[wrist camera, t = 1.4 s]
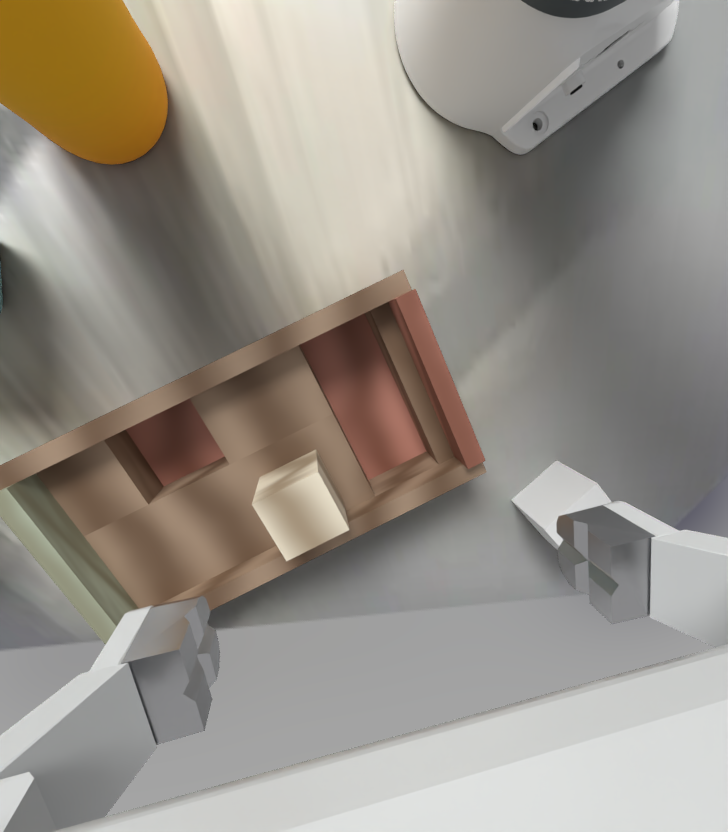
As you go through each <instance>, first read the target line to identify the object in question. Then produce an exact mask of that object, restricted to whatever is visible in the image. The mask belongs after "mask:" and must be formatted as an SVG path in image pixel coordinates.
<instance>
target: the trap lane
mask: <svg viewBox="0 0 728 832" xmlns="http://www.w3.org/2000/svg"><path fill="white" fill-rule="evenodd" d="M314 450H317V452H318V454H319V456H320V458H321V460H322V461H323V463H324V465H325V467H326V469H327V471H328V473H329V474H330V476H331V478H332V480H333V482H334V484H335V486H336V488H337V489H338V491H339V493H340V495H341V497H342V499H343V502H344V506H345V511H346V516H347V520H348V525H349V530H348V531H346V532H344V533H342V534H340V535H338V536H336V537H334V538H332V539H330V540H328V541H326V542H324V543H322V544H320V545H318V546H316V547H314V548H312V549H310V550H308V551H306V552H304V553H302V554H300V555H298V556H296V557H294V558H292V559H290V560H288V561H286V560H285V558H284V557H283V555H282V553H281V552H280V550H279V548H278V547H277V545H276V543H275V542H274V540H273V539H272V537H271V535H270V534H269V532H268V530H267V529H266V527H265V525H264V524H263V522H262V520H261V519H260V517H259V516H258V514H257V512H256V511H255V509H254V507H253V506H252V502H253V499H254V495H255V492H256V488H257V485H258V481H259V478H260V477H261V476H263V475H265V474H267V473H269V472H271V471H273V470H275V469H277V468H279V467H281V466H283V465H285V464H287V463H289V462H291V461H293V460H295V459H297V458H299V457H301V456H303V455H306V454H308V453H310V452H312V451H314ZM484 461H485V458H484V456H483V453H482V451H481V448H480V446H479V444H478V441H477V439H476V436H475V434H474V431H473V429H472V426H471V424H470V422H469V419H468V417H467V414H466V412H465V409H464V407H463V404H462V402H461V399H460V397H459V395H458V392H457V390H456V387H455V385H454V382H453V380H452V377H451V375H450V372H449V370H448V368H447V365H446V363H445V360H444V358H443V355H442V353H441V350H440V348H439V345H438V343H437V341H436V338H435V336H434V333H433V331H432V328H431V326H430V323H429V321H428V318H427V316H426V314H425V311H424V309H423V306H422V304H421V301H420V299H419V296H418V294H417V292H416V289H414V290H412V289H411V287H410V284H409V282H408V280H407V277H406V275H405V272H404V270H402V271H400V272H398V273H396V274H394V275H392V276H390V277H388V278H385V279H383V280H381V281H379V282H377V283H375V284H373V285H371V286H369V287H367V288H365V289H363V290H361V291H359V292H357V293H355V294H353V295H350V296H348V297H346V298H344V299H342V300H340V301H338V302H336V303H334V304H332V305H330V306H328V307H326V308H324V309H322V310H320V311H317V312H315V313H313V314H311V315H309V316H307V317H305V318H303V319H301V320H299V321H297V322H295V323H293V324H291V325H289V326H287V327H284V328H282V329H280V330H278V331H276V332H274V333H272V334H270V335H268V336H266V337H264V338H262V339H260V340H258V341H256V342H254V343H252V344H249V345H247V346H245V347H243V348H241V349H239V350H237V351H235V352H233V353H231V354H229V355H227V356H225V357H223V358H221V359H219V360H216V361H214V362H212V363H210V364H208V365H206V366H204V367H202V368H200V369H198V370H196V371H194V372H192V373H190V374H188V375H186V376H183V377H181V378H179V379H177V380H175V381H173V382H171V383H169V384H167V385H165V386H163V387H161V388H159V389H157V390H155V391H153V392H150V393H148V394H146V395H144V396H142V397H140V398H138V399H136V400H134V401H132V402H130V403H128V404H126V405H124V406H122V407H120V408H118V409H115V410H113V411H111V412H109V413H107V414H105V415H103V416H101V417H99V418H97V419H95V420H93V421H91V422H89V423H87V424H85V425H82V426H80V427H78V428H76V429H74V430H72V431H70V432H68V433H66V434H64V435H62V436H60V437H58V438H56V439H54V440H52V441H49V442H47V443H45V444H43V445H41V446H39V447H37V448H35V449H33V450H31V451H29V452H27V453H25V454H23V455H21V456H19V457H17V458H14V459H12V460H10V461H8V462H6V463H4V464H2V465H0V517H1V518H2V519H3V520H4V522H5V523H6V524H7V525H8V526H9V528H10V529H11V530H12V531H13V533H14V534H15V535H16V536H17V537H18V539H19V540H20V541H21V542H22V544H23V545H24V546H25V547H26V548H27V550H28V551H29V552H30V553H31V554H32V556H33V557H34V558H35V559H36V561H37V562H38V563H39V564H40V565H41V567H42V568H43V569H44V570H45V572H46V573H47V574H48V575H49V576H50V578H51V579H52V580H53V581H54V583H55V584H56V585H57V586H58V587H59V589H60V590H61V591H62V592H63V594H64V595H65V596H66V597H67V598H68V600H69V601H70V602H71V603H72V604H73V606H74V607H75V608H76V609H77V611H78V612H79V613H80V614H81V615H82V617H83V618H84V619H85V620H86V622H87V623H88V624H89V625H90V626H91V628H92V629H93V630H94V631H95V633H96V634H97V635H98V636H99V637H100V639H101V640H102V641H103V642H104V644H105V645H106V643H107V642H108V640H109V638H110V637H111V635H112V634H113V632H114V630H115V629H116V627H117V625H118V624H119V622H120V621H121V619H122V617H123V616H124V614H125V613H127V612H129V611H131V610H135V609H139V608H144V607H148V606H155V605H158V604H163V603H168V602H173V601H178V600H182V599H187V598H192V597H197V596H204V597H205V598H206V599H207V603H208V606H209V609H210V611H211V610H213V609H215V608H217V607H219V606H221V605H223V604H225V603H227V602H229V601H231V600H233V599H235V598H237V597H238V596H240V595H242V594H244V593H246V592H248V591H250V590H252V589H254V588H256V587H258V586H260V585H262V584H264V583H266V582H268V581H270V580H272V579H274V578H276V577H278V576H280V575H282V574H284V573H286V572H288V571H290V570H292V569H294V568H296V567H298V566H300V565H302V564H304V563H306V562H308V561H310V560H312V559H314V558H316V557H318V556H320V555H322V554H324V553H326V552H328V551H330V550H332V549H334V548H336V547H338V546H340V545H342V544H344V543H346V542H348V541H350V540H352V539H354V538H356V537H358V536H360V535H362V534H364V533H366V532H368V531H370V530H372V529H374V528H376V527H378V526H380V525H382V524H384V523H386V522H388V521H390V520H392V519H394V518H396V517H398V516H400V515H402V514H404V513H406V512H408V511H410V510H412V509H414V508H416V507H418V506H420V505H422V504H424V503H426V502H428V501H430V500H432V499H434V498H436V497H438V496H440V495H442V494H444V493H446V492H448V491H450V490H452V489H454V488H456V487H458V486H460V485H462V484H464V483H466V482H468V481H470V480H472V479H474V478H476V477H478V476H480V475H482V474H484V473H486V470H485V467H484V465H483V462H484Z"/></svg>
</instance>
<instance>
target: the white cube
mask: <svg viewBox="0 0 728 832" xmlns="http://www.w3.org/2000/svg"><path fill="white" fill-rule="evenodd" d="M511 501H512V502H513V503H514V504H515V505H516V506H517V508H518V509H519V510H520V511H521V512H522V513H523V514H524V516H525V517H526V518H527V519H528V520H529V521H530V522H531V524H532V525H533V526H534V527H535V528H536V529H537V530H538V532H539V533H540V534H541V535H542V536H543V537H544V538H545V539H546V540H547V541H548V542H549V543H550V544H551V545H552V546H553V547H555V548H556V549H557V550H558V548H559V546H560V544H561V543H562V541H563V539H562V538H561V537H560V536H559V535H558V534H557V526H556V523H557V519H558V516H561V515H565V514H569V513H573V512H577V511H581V510H585V509H589V508H593V507H597V506H600V505H603V504H607V503H611V500H610V499H609V498H608V496H607V495H606V494H605V493H604V491H603V490H602V489H601V487H600V486H599V485H598V483H596V482H594V481H592V480H591V479H589V478H587V477H585V476H584V475H582V474H580V473H578V472H576V471H575V470H573V469H571V468H569V467H568V466H566V465H564V464H562V463H560V462H559V461H557V460H556V461H555V462H554V463H553V464H552V465H551V466H549V467H548V468H547V469H546V470H545V471H544V472H543V473H541V474H540V475H539V476H538V477H537V478H536V479H535V480H533V481H532V482H531V483H530V484H529V485H528V486H527V487H525V488H524V489H523V490H522V491H521V492H520V493H519V494H517V495H516V496H515V497H514V498H513V499H512V500H511Z"/></svg>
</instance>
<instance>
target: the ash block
mask: <svg viewBox="0 0 728 832" xmlns="http://www.w3.org/2000/svg"><path fill="white" fill-rule="evenodd" d="M252 506H253V507H254V509H255V511H256V512H257V514H258V516H259V517H260V519H261V520H262V522H263V524H264V525H265V527H266V529H267V530H268V532H269V534H270V535H271V537H272V539H273V540H274V542H275V543H276V545H277V547H278V548H279V550H280V552H281V553H282V555H283V557H284V558H285V560H286V561H288V560H290V559H292V558H294V557H296V556H298V555H300V554H302V553H304V552H306V551H308V550H310V549H312V548H314V547H316V546H318V545H320V544H322V543H324V542H326V541H328V540H330V539H332V538H334V537H336V536H338V535H340V534H342V533H344V532H346V531H348V530H349V525H348V520H347V516H346V511H345V506H344V502H343V499H342V497H341V495H340V493H339V491H338V489H337V488H336V486H335V484H334V482H333V480H332V478H331V476H330V474H329V473H328V471H327V469H326V467H325V465H324V463H323V461H322V460H321V458H320V456H319V454H318V452H317V450H314V451H312V452H310V453H308V454H306V455H303V456H301V457H299V458H297V459H295V460H293V461H291V462H289V463H287V464H285V465H283V466H281V467H279V468H277V469H275V470H273V471H271V472H269V473H267V474H265V475H263V476H261V477H260V478H259V481H258V485H257V488H256V492H255V495H254V499H253V502H252Z"/></svg>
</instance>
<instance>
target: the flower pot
mask: <svg viewBox="0 0 728 832" xmlns="http://www.w3.org/2000/svg"><path fill="white" fill-rule="evenodd" d="M2 306H3V294H2V280H1V263H0V313H1V310H2Z"/></svg>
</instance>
